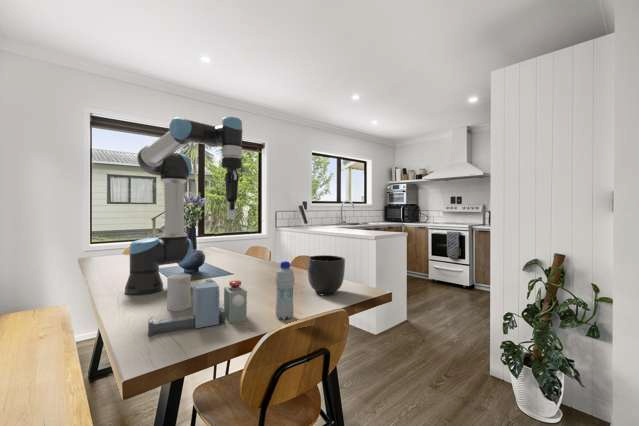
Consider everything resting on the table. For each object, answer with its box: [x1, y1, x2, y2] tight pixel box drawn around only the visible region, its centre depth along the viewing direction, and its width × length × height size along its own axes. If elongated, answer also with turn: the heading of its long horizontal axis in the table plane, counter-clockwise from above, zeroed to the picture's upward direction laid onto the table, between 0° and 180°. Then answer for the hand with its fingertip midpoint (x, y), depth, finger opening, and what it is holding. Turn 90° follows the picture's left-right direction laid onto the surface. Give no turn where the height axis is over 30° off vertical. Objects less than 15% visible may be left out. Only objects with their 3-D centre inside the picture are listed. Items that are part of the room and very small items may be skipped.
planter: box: [307, 254, 346, 296], centre depth 141 cm, size 17×17×16 cm
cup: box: [166, 273, 192, 312], centre depth 118 cm, size 8×8×12 cm
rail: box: [147, 306, 226, 337], centre depth 99 cm, size 5×22×4 cm, turn 119°
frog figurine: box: [199, 278, 216, 284], centre depth 135 cm, size 6×7×7 cm
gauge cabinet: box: [223, 285, 248, 323], centre depth 108 cm, size 8×6×10 cm
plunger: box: [228, 280, 242, 291], centre depth 108 cm, size 4×4×8 cm
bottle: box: [275, 260, 295, 321], centre depth 109 cm, size 7×7×20 cm
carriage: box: [192, 281, 220, 329], centre depth 102 cm, size 8×7×13 cm
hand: (231, 218), depth 121 cm, fingers closed
